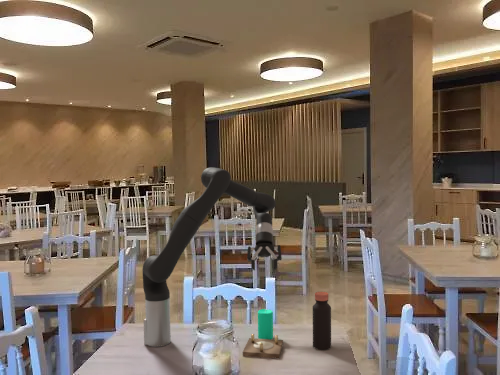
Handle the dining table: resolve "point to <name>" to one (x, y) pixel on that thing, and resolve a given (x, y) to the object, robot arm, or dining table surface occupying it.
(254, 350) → the stand
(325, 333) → the bottle
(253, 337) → the pins
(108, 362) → the dining table surface
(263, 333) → the candle
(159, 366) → the dining table surface
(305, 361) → the dining table surface
